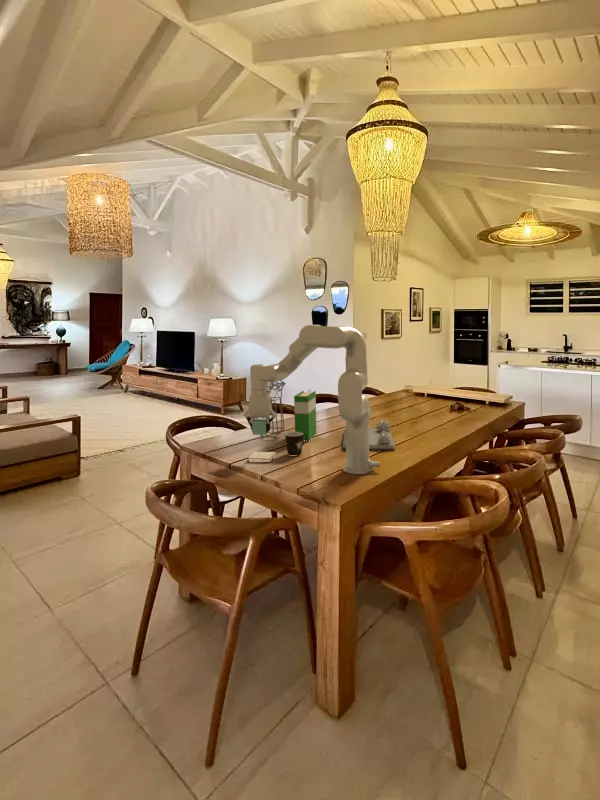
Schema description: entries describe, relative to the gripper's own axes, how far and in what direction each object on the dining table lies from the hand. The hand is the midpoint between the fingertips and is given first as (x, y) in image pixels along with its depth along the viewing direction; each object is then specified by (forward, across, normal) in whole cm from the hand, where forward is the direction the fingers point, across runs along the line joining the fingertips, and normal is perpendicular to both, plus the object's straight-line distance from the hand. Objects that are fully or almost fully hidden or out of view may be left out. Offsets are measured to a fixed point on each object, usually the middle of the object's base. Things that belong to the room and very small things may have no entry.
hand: (260, 431), depth 205 cm
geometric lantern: (+13, +5, -38) cm, 41 cm away
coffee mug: (+13, -15, -9) cm, 22 cm away
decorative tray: (+14, -48, -36) cm, 61 cm away
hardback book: (+13, -14, -41) cm, 45 cm away
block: (+1, 0, 0) cm, 1 cm away
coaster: (+13, 0, 0) cm, 13 cm away
